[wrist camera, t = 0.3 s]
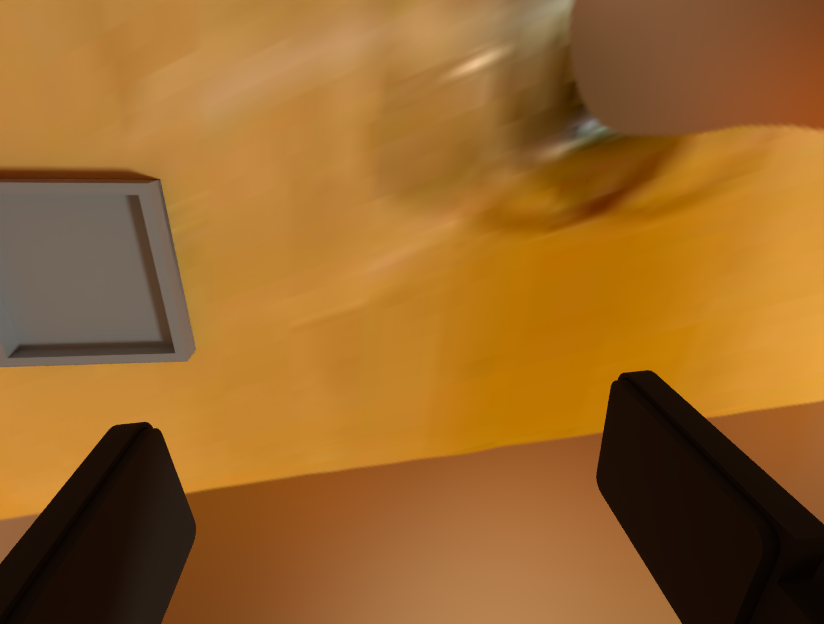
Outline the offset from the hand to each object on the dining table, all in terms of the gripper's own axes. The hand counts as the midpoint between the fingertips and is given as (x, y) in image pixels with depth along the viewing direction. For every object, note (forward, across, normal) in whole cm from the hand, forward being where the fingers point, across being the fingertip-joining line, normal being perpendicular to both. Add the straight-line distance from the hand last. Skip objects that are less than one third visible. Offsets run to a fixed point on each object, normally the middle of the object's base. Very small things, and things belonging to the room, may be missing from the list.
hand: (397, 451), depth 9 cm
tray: (+37, +29, +6) cm, 47 cm away
